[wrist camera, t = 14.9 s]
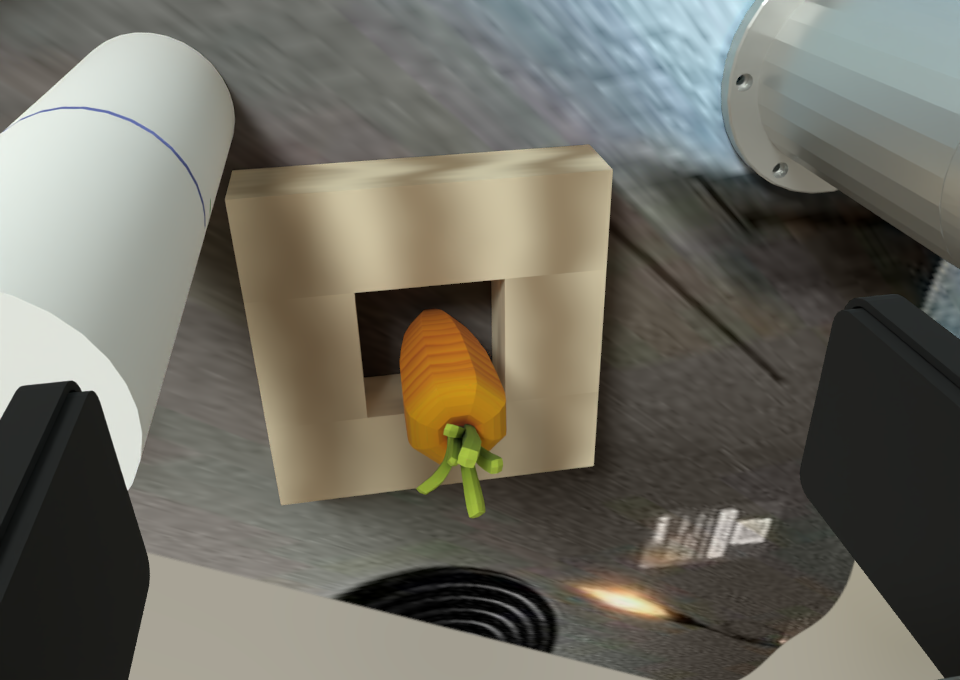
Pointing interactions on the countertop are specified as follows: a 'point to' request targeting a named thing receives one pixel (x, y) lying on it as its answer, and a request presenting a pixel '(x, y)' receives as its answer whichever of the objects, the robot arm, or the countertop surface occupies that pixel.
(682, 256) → the countertop surface
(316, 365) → the maple block
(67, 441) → the robot arm
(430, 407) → the carrot
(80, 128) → the cylindrical container
